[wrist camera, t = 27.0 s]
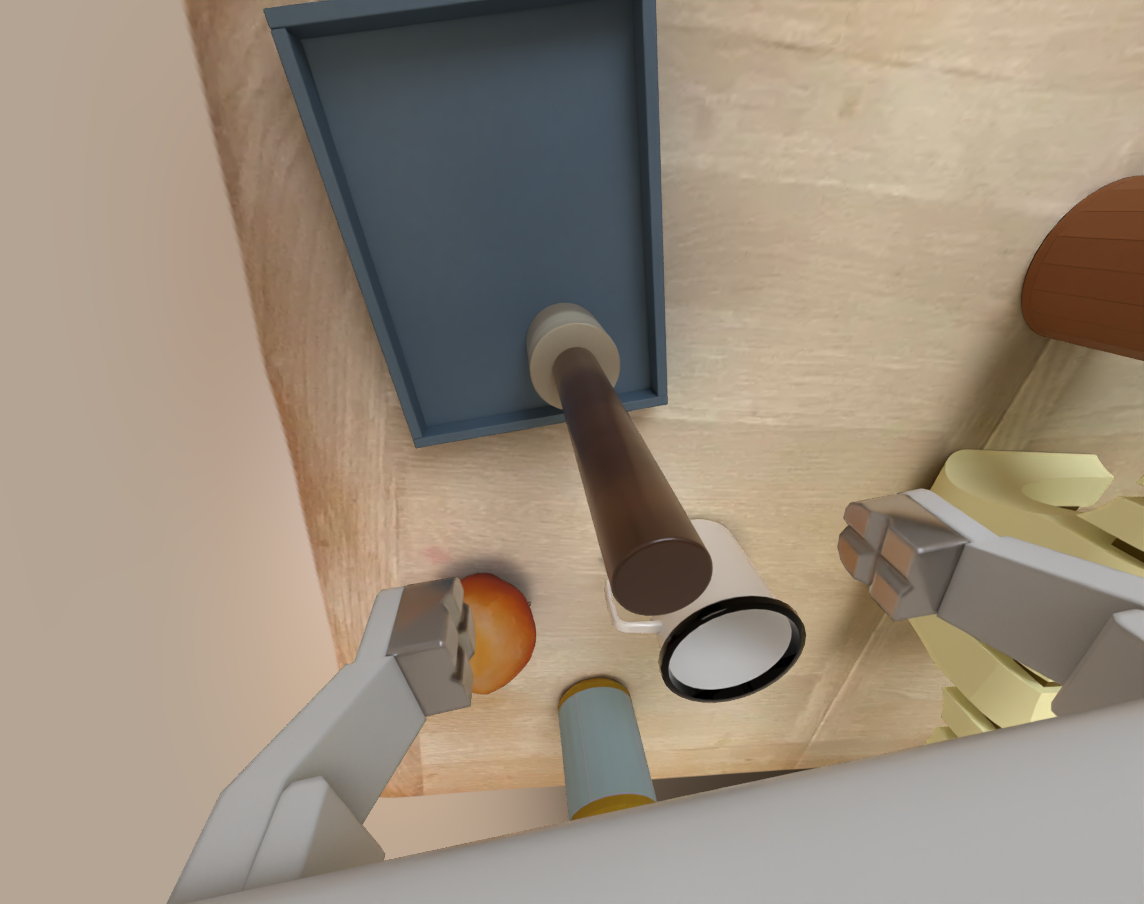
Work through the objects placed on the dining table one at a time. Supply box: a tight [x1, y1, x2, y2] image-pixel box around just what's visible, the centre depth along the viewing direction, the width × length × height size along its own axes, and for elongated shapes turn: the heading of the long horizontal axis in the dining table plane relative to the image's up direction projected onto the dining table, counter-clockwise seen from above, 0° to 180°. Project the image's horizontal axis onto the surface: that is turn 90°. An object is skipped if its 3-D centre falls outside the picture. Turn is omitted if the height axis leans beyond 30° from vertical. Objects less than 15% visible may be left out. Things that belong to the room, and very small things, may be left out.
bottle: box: [558, 678, 657, 821], centre depth 37 cm, size 7×7×15 cm
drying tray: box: [263, 0, 668, 448], centre depth 23 cm, size 19×15×2 cm
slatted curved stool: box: [908, 449, 1144, 744], centre depth 30 cm, size 30×16×18 cm, turn 174°
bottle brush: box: [526, 303, 713, 616], centre depth 18 cm, size 4×4×19 cm
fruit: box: [460, 573, 536, 694], centre depth 33 cm, size 8×8×8 cm
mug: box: [604, 519, 806, 703], centre depth 32 cm, size 12×10×9 cm
